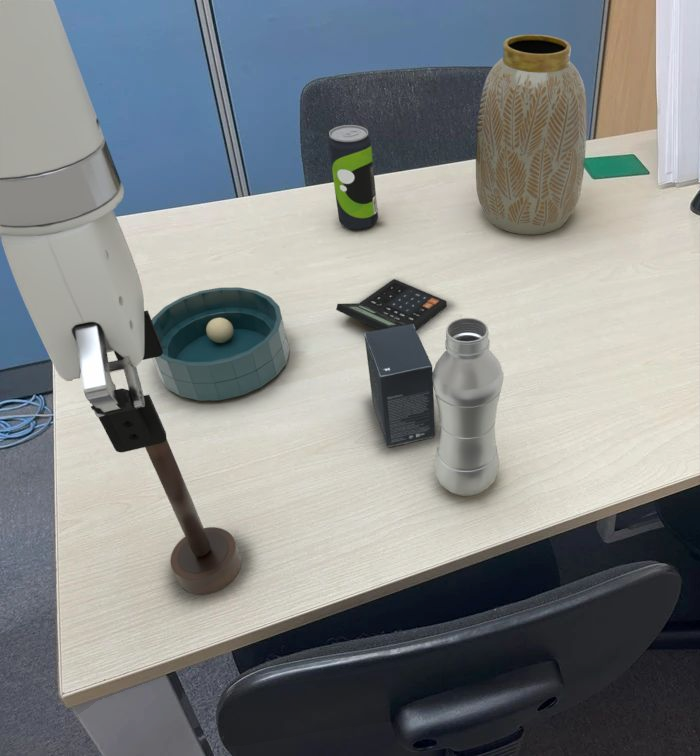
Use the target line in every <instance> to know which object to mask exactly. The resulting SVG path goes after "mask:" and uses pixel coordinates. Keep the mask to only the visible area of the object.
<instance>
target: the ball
mask: <svg viewBox="0 0 700 756" xmlns="http://www.w3.org/2000/svg"><path fill="white" fill-rule="evenodd" d="M233 332H234V330H233V326H232V324H231V323H230V322H229V321H228V320H227V319H224V318H215V319H212V320H211V321H210V322H209V323H208V325H207V327H206V333H207V336H208V337H209V338H210V339H211V340H212V341H214V342H216V343H224V342H227V341H228V340H230V339H231V337H232V336H233Z"/></svg>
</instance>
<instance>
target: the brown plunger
mask: <svg viewBox="0 0 700 756" xmlns="http://www.w3.org/2000/svg"><path fill="white" fill-rule="evenodd" d="M144 448H145V451H146V453H147V455H148V457H149V460H150V462H151V464H152V466H153V468H154V471H155V473H156V475H157V477H158V480H159V481H160V483H161V486H162V489H163V491H164V493H165V495H166V497H167V499H168V501H169V503H170V507H171V509H172V510H173V512H174V515H175V517H176V519H177V521H178V523H179V526H180V528H181V530H182V533H183V534H184V537H182V538H181V539H180V540H179V541H178V542H177V543H176V545H175V546H174V548H173V549H172V551H171V554H170V559H169V560H170V561H169V563H170V566H171V569H172V571H173V573H174V576H175V577H176V580H177V581H178V583H179V585H180V587H181V588H182V589H183V590H185V591H186V592H188V593H190V594H194V595H198V596H199V595H200V596H201V595H209V594H210V595H211V594H213V593H216V592H219V591H221V590H223V589H224V588H226V587H227V586H229V585H230V584H231V583H232V582H233V581H234V580H235V578H236V577H237V575H238V574H239V572H240V570H241V567H242V555H241V553H240V551H239V548H238V546H237V543H236V540H235V538H234V536H233V535H232V534H231V532H229V531H228V530H226V529H224V528H221V527H216V526H215V527H214V526H211V527H210V526H209V527H204V525H203V523H202V521H201V517H200V515H199V513H198V511H197V508H196V506H195V503H194V501H193V499H192V497H191V493H190V491H189V488H188V487H187V484H186V482H185V479H184V477H183V474H182V473H181V470H180V467H179V465H178V463H177V460H176V458H175V456H174V453H173V450H172V448H171V446H170V444H169V441H168V439H167V438H166V441H165V442H164V443H161V444H156V445H152V446H148V447H144Z"/></svg>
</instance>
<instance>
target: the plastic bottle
mask: <svg viewBox="0 0 700 756" xmlns="http://www.w3.org/2000/svg"><path fill="white" fill-rule="evenodd" d="M445 329H446V330H445V344H444V346H445V351H444V352H443V353H442V354H441V356H440V357H439V358H438V360H437V361H436V363H435V365H434V367H433V370H432V371H433V375H432V380H433V392H434V396H435V399H436V404H437V410H438V418H439V436H438V446H437V449H436V452H435V456H434V457H435V458H434V466H433V467H434V470H435V474H436V477H437V481H438V483H439V484H440V485H441V486H442V487H443V488H444V489H445V490H446V491H448V492H450V493H452V494H454V495H457V496H461V497H462V496H463V497H470V496H476V495H478V494H480V493H482V492H484V491H486V490H487V489H488V488H490V487H491V486H492V485H493V484H494V482H495V480H496V478H497V475H498V472H499V470H500V469H499V468H500V457H499V451H498V448H497V447H498V446H497V441H496V418H497V410H498V405H499V400H500V396H501V392H502V388H503V383H504V371H503V368H502V365H501V362H500V360H499V359H498V357H496V356H495V354H494V353H493V352H492V350H490V338H489V328H488V325H487V324H486V323H485V322H484V321H482V320H481V319H478V318H473V317H461V318H458V319H455V320H453V321H451V322H450V323H448V325H447V327H446V328H445Z"/></svg>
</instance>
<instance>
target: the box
mask: <svg viewBox="0 0 700 756" xmlns="http://www.w3.org/2000/svg"><path fill="white" fill-rule="evenodd" d="M363 336H364V343H365V351H366V360H367V367H368V375H369V383H370V392H371V401H372V405H373V408H374V411H375V416H376V417H377V421H378V424H379V427H380V430H381V432H382V436H383V438H384V442H385V444H386V447H388V448H391V447H395V446H400V445H405V444H408V443H409V444H410V443H414V442H418V441H422V440H426V439H431V438H434V437H435V436H436V426H435V425H436V424H435V398H434V397H435V393H434V387H433V380H432V375H433V371H434V370H433V364H432V362H431V360H430V358H429V356H428V353H427V351H426V349H425V347H424V344H423V343H422V340H421V338H420V336H419V334H418V331H417V330H416V329H415V327H414V325H413V324H410V325H404V326H399V327H393V328H387V329H382V330H378V329H376V330H371V331H365V332H364V334H363Z"/></svg>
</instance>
